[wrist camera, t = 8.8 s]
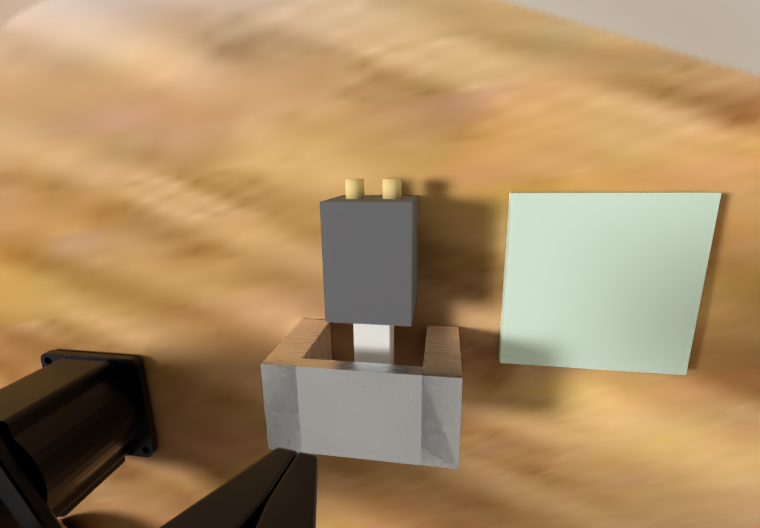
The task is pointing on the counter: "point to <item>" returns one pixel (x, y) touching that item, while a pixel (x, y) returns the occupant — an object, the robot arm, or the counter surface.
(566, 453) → the counter surface
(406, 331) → the counter surface
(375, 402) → the housing
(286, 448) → the robot arm
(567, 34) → the counter surface
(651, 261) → the mat
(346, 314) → the plug
